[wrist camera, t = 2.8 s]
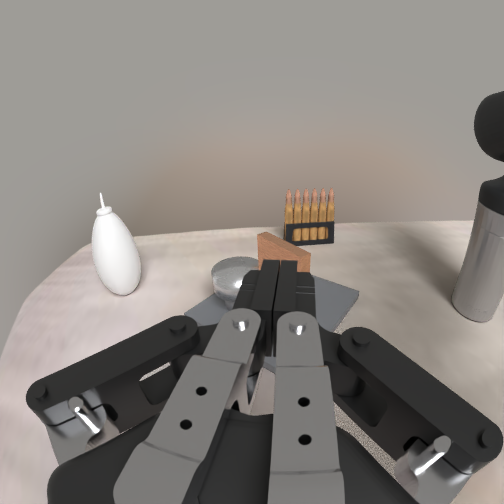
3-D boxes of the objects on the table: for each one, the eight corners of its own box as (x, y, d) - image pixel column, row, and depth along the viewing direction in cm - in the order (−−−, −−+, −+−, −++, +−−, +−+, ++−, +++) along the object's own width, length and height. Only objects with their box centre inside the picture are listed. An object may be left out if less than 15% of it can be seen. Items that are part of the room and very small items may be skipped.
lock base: (266, 264, 51) (265, 245, 49) (358, 297, 41) (362, 275, 39) (185, 319, 39) (180, 297, 37) (292, 382, 28) (294, 360, 26)
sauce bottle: (155, 288, 46) (133, 185, 37) (120, 311, 40) (87, 203, 32) (132, 275, 50) (110, 183, 41) (99, 294, 44) (70, 198, 36)
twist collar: (205, 284, 39) (195, 219, 34) (246, 267, 42) (241, 206, 38) (275, 349, 27) (276, 268, 23) (322, 319, 31) (330, 244, 26)
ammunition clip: (284, 247, 57) (284, 190, 52) (283, 243, 59) (283, 188, 54) (333, 243, 58) (337, 189, 52) (331, 239, 60) (334, 186, 54)
